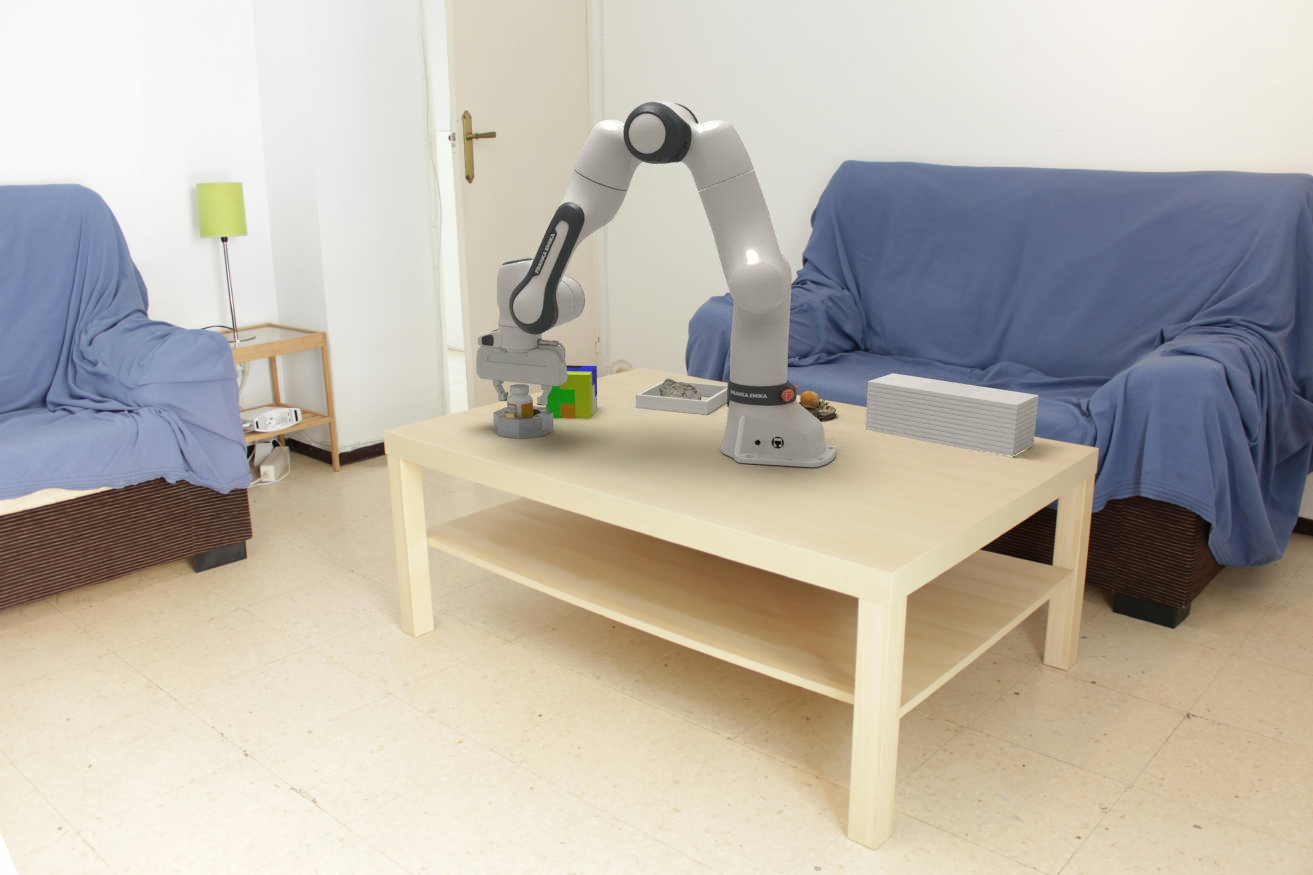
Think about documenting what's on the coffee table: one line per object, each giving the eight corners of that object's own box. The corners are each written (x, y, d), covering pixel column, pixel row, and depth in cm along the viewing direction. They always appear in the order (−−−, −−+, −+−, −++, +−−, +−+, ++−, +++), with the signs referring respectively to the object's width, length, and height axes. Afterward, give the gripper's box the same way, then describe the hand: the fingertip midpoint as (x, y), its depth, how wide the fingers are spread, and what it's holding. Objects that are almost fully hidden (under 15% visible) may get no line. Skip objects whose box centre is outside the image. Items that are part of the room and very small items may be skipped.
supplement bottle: (534, 427, 216) (533, 383, 213) (532, 433, 211) (531, 388, 208) (509, 427, 216) (507, 383, 213) (506, 434, 210) (504, 388, 208)
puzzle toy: (597, 408, 232) (596, 366, 230) (590, 419, 223) (589, 375, 220) (554, 407, 233) (553, 365, 231) (546, 418, 224) (544, 374, 221)
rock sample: (657, 395, 227) (670, 365, 231) (648, 411, 234) (661, 381, 238) (700, 415, 228) (712, 384, 232) (689, 430, 235) (701, 399, 239)
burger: (842, 413, 228) (844, 381, 226) (827, 425, 218) (828, 392, 216) (792, 408, 233) (793, 376, 231) (774, 419, 223) (775, 386, 221)
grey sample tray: (732, 398, 242) (733, 386, 241) (706, 414, 226) (707, 401, 225) (665, 391, 248) (665, 379, 247) (635, 407, 233) (635, 394, 232)
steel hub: (561, 427, 216) (560, 404, 214) (533, 440, 205) (533, 416, 204) (514, 421, 220) (513, 399, 219) (485, 434, 210) (484, 411, 209)
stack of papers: (1033, 447, 201) (1038, 395, 199) (1012, 459, 194) (1017, 404, 191) (889, 421, 222) (892, 373, 219) (865, 430, 214) (868, 381, 211)
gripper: (572, 338, 206) (573, 404, 210) (487, 332, 214) (490, 395, 218) (557, 343, 201) (559, 410, 204) (470, 336, 209) (473, 401, 212)
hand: (522, 402), depth 211 cm, fingers open, 8 cm apart
